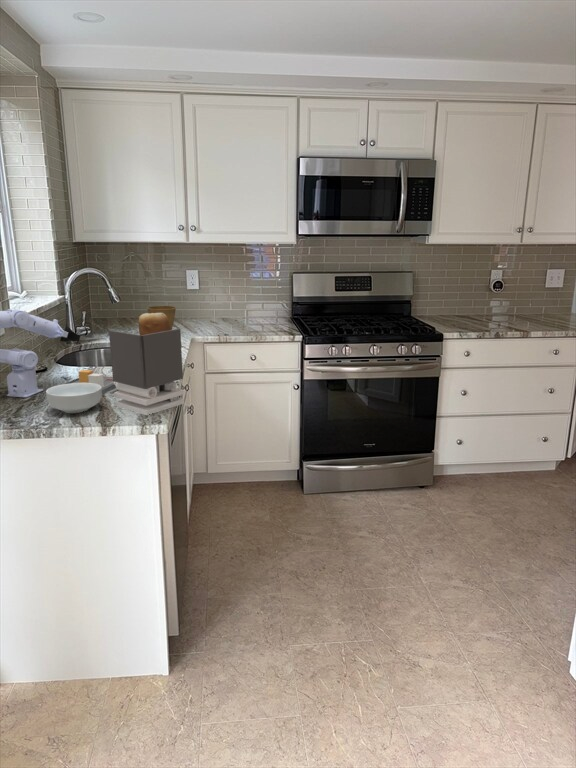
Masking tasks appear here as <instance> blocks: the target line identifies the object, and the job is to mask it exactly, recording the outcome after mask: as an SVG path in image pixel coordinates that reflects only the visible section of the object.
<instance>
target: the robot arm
mask: <svg viewBox="0 0 576 768" xmlns="http://www.w3.org/2000/svg"><path fill="white" fill-rule="evenodd" d="M12 327H15V328H20V329H24V330H25V331H29V332H31V333H34V334H37V335H40V336H44V337H47V338H49V339H55V338H60V339H59V341H60V342H62V343H66V342H79V341H80V339H81V336H80V334H78V333H76V332H74V331H73V330H72V329H71V328H70V327H69V326H65V328H64V329H63V328H62V327H61V326H60V324H59V319H56V318H54V319H53V320H49V319H45V318H43V317H41V316H37V315H34V314H30V313H28V312H27V311H26V310H19V309H11V308H9V309H6V310H0V329H10V328H12ZM38 361H39V357H38V355H37V353H36V352H34V351H32V350H26V349H21V348H18V347H13V348H11V349H5V348H3V349H2V348H0V364H1V363H2V364H9V365H11V368H12V369H11V372H10V373H8V375H7V376H6V383H7V391H8V392H7V393H8V394H6V396H7V397H14V398H17V397H18V398H29V397H31V396H33V395H36V394H38V393H40V392H42V391H44V389H43V388H38V382H37V374H36V366H37V365H38Z"/></svg>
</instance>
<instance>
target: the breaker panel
mask: <svg viewBox="0 0 576 768" xmlns="http://www.w3.org/2000/svg"><path fill="white" fill-rule="evenodd" d="M88 380H89V383H94V384H98V385H100V386H101V387H102V395H104V394H106V393H109V392H110V391H111V390H113V389H115V388H116V386H115V385H114V381H113V376H106V375H105V376H104V374H103V373H93V374H90V375H88ZM73 383H80V382H79V380H77V381H75V382H73Z"/></svg>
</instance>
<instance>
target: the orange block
mask: <svg viewBox="0 0 576 768" xmlns="http://www.w3.org/2000/svg"><path fill="white" fill-rule="evenodd" d="M90 374H94V370H92V369H82V370H79V371H78V378H79V382H80V383H89V380H88V375H90Z"/></svg>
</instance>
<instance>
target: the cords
mask: <svg viewBox="0 0 576 768" xmlns="http://www.w3.org/2000/svg"><path fill="white" fill-rule="evenodd" d="M77 380H79V377H78V378H74V379H73V380H71V381H67V382H66V383H65V384H69V383H73V382H75V381H77ZM118 391H119V390H117V388H114V389H112V390H110V391H109V393H110V395H111V394H114V392H118Z"/></svg>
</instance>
